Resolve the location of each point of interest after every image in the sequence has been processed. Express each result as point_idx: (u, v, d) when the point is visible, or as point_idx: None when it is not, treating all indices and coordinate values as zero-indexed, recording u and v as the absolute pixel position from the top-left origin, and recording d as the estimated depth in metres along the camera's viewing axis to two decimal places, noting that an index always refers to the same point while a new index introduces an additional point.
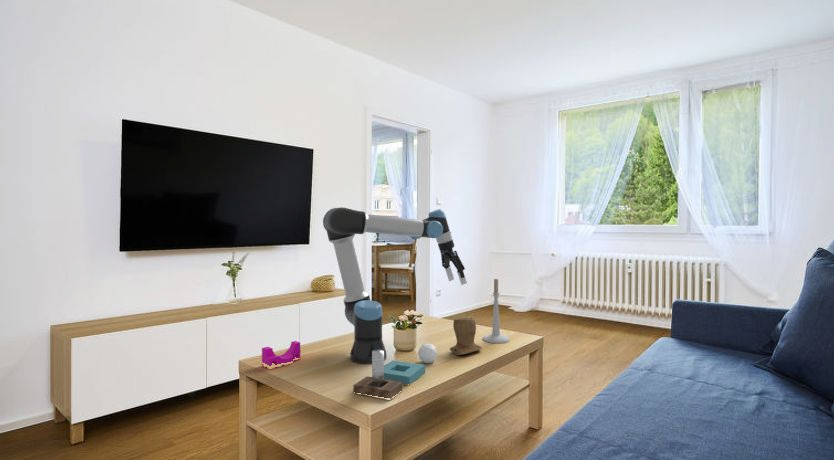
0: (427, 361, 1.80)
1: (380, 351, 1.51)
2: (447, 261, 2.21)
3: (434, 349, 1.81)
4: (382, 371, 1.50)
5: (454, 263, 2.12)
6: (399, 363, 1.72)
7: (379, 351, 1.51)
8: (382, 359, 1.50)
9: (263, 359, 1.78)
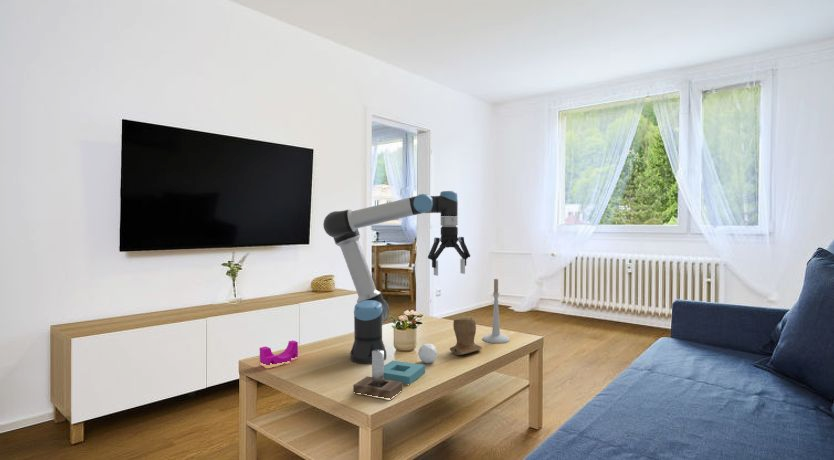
0: (427, 361, 1.80)
1: (380, 351, 1.51)
2: (457, 250, 2.00)
3: (434, 349, 1.81)
4: (382, 371, 1.50)
5: None
6: (399, 363, 1.72)
7: (379, 351, 1.51)
8: (382, 359, 1.50)
9: (261, 359, 1.79)
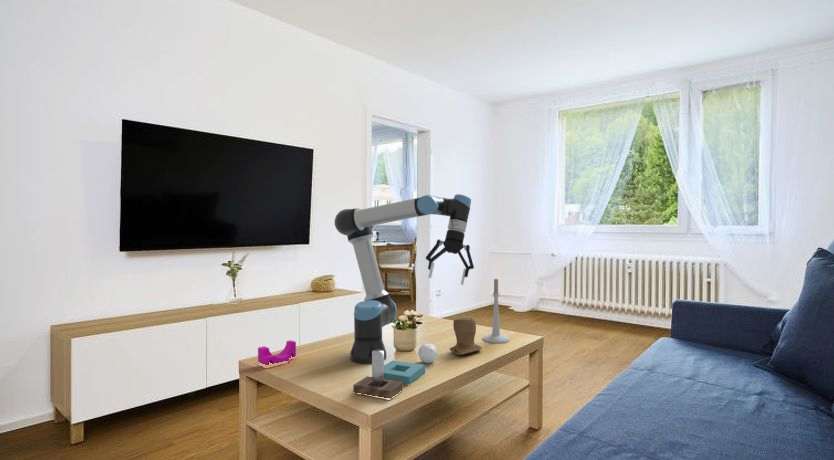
0: (427, 361, 1.80)
1: (380, 351, 1.51)
2: None
3: (434, 349, 1.81)
4: (382, 371, 1.50)
5: None
6: (399, 363, 1.72)
7: (379, 351, 1.51)
8: (382, 359, 1.50)
9: (259, 359, 1.79)
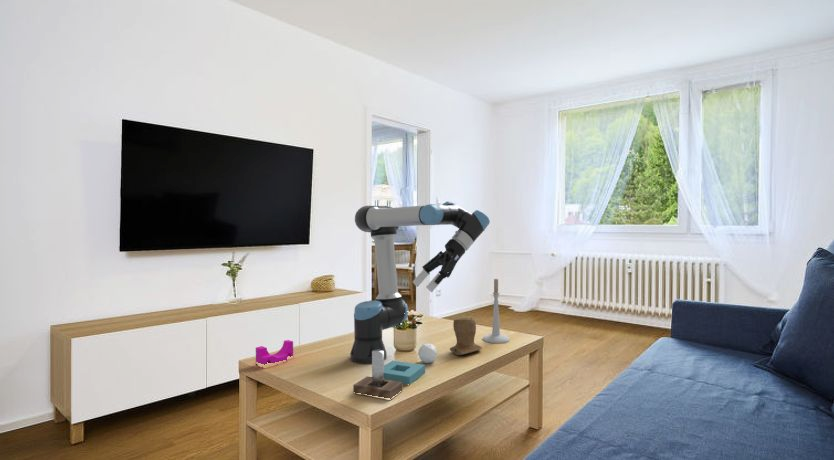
0: (427, 361, 1.80)
1: (380, 351, 1.51)
2: None
3: (434, 349, 1.81)
4: (382, 371, 1.50)
5: None
6: (399, 363, 1.72)
7: (379, 351, 1.51)
8: (382, 359, 1.50)
9: (257, 358, 1.79)
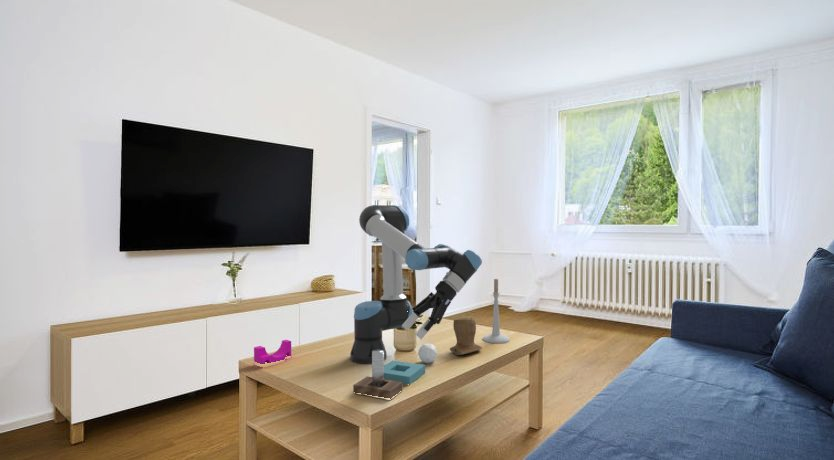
0: (427, 361, 1.80)
1: (380, 351, 1.51)
2: None
3: (434, 349, 1.81)
4: (382, 371, 1.50)
5: None
6: (399, 363, 1.72)
7: (379, 351, 1.51)
8: (382, 359, 1.50)
9: (255, 358, 1.79)
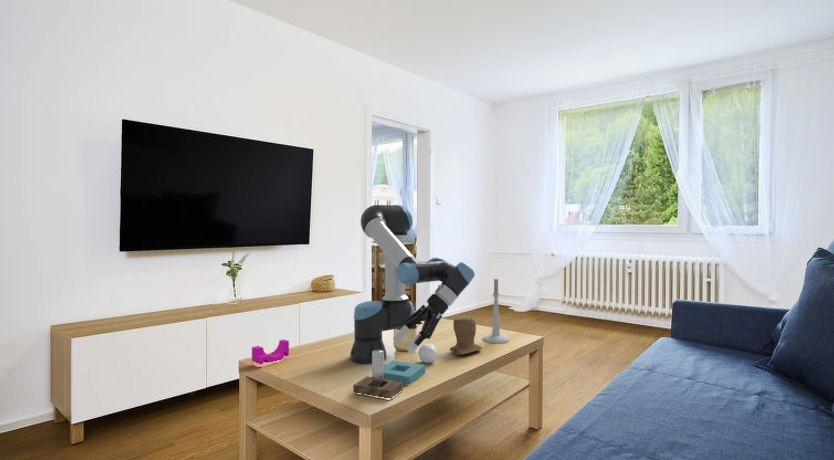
0: (427, 361, 1.80)
1: (380, 351, 1.51)
2: None
3: (434, 349, 1.81)
4: (382, 371, 1.50)
5: None
6: (399, 363, 1.72)
7: (379, 351, 1.51)
8: (382, 359, 1.50)
9: (253, 358, 1.79)
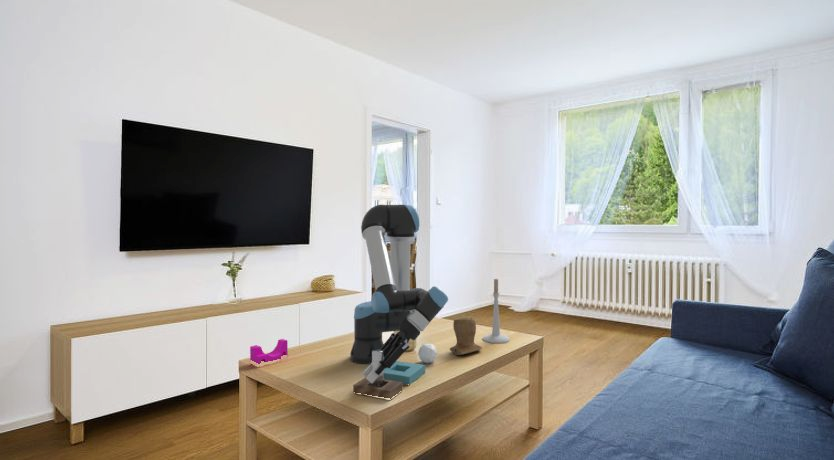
0: (427, 361, 1.80)
1: (380, 351, 1.51)
2: None
3: (434, 349, 1.81)
4: (382, 371, 1.50)
5: None
6: (399, 363, 1.72)
7: (379, 351, 1.51)
8: (382, 359, 1.50)
9: (252, 357, 1.80)
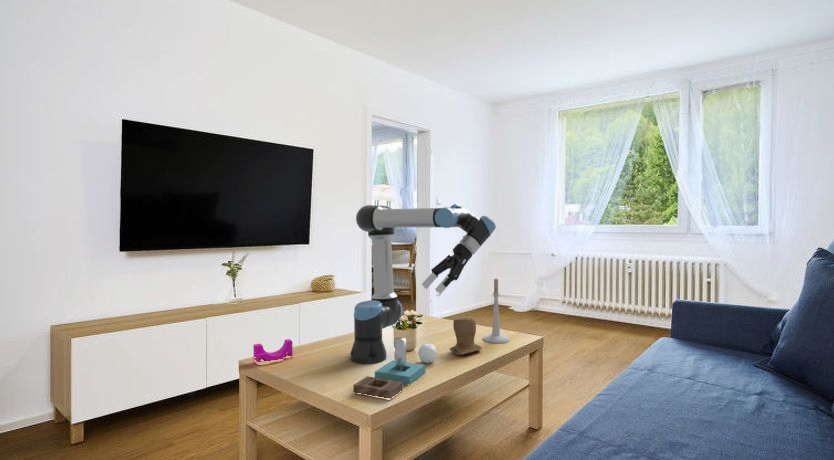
0: (427, 361, 1.80)
1: (402, 339, 1.66)
2: None
3: (434, 349, 1.81)
4: (404, 357, 1.66)
5: None
6: None
7: (401, 339, 1.67)
8: (404, 346, 1.66)
9: (254, 355, 1.83)
